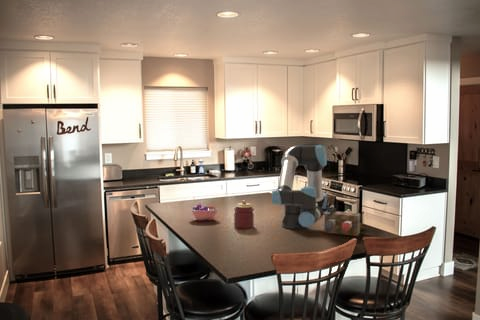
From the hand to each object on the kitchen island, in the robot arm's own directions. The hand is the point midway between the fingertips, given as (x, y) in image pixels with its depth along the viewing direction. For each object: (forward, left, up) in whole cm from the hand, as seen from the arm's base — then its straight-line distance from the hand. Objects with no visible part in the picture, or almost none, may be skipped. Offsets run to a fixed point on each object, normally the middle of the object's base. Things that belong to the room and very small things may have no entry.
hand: (324, 206), depth 247 cm
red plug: (+10, +16, -16) cm, 25 cm away
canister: (-55, +9, -20) cm, 59 cm away
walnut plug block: (+5, +23, -20) cm, 31 cm away
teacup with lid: (+7, +39, -20) cm, 44 cm away
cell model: (-88, +15, -20) cm, 92 cm away
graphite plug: (0, +16, -16) cm, 22 cm away
